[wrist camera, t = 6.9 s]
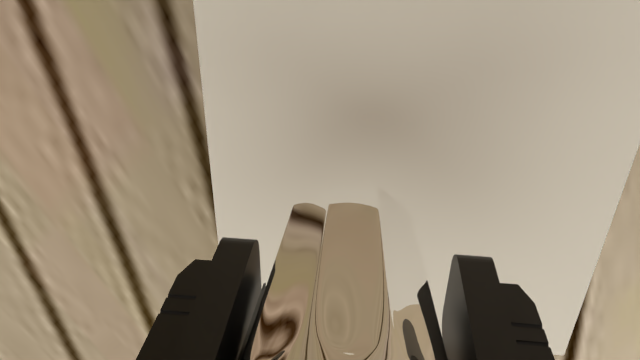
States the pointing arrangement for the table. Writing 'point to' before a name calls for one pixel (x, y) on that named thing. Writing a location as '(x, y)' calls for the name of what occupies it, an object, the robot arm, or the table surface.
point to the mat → (432, 126)
